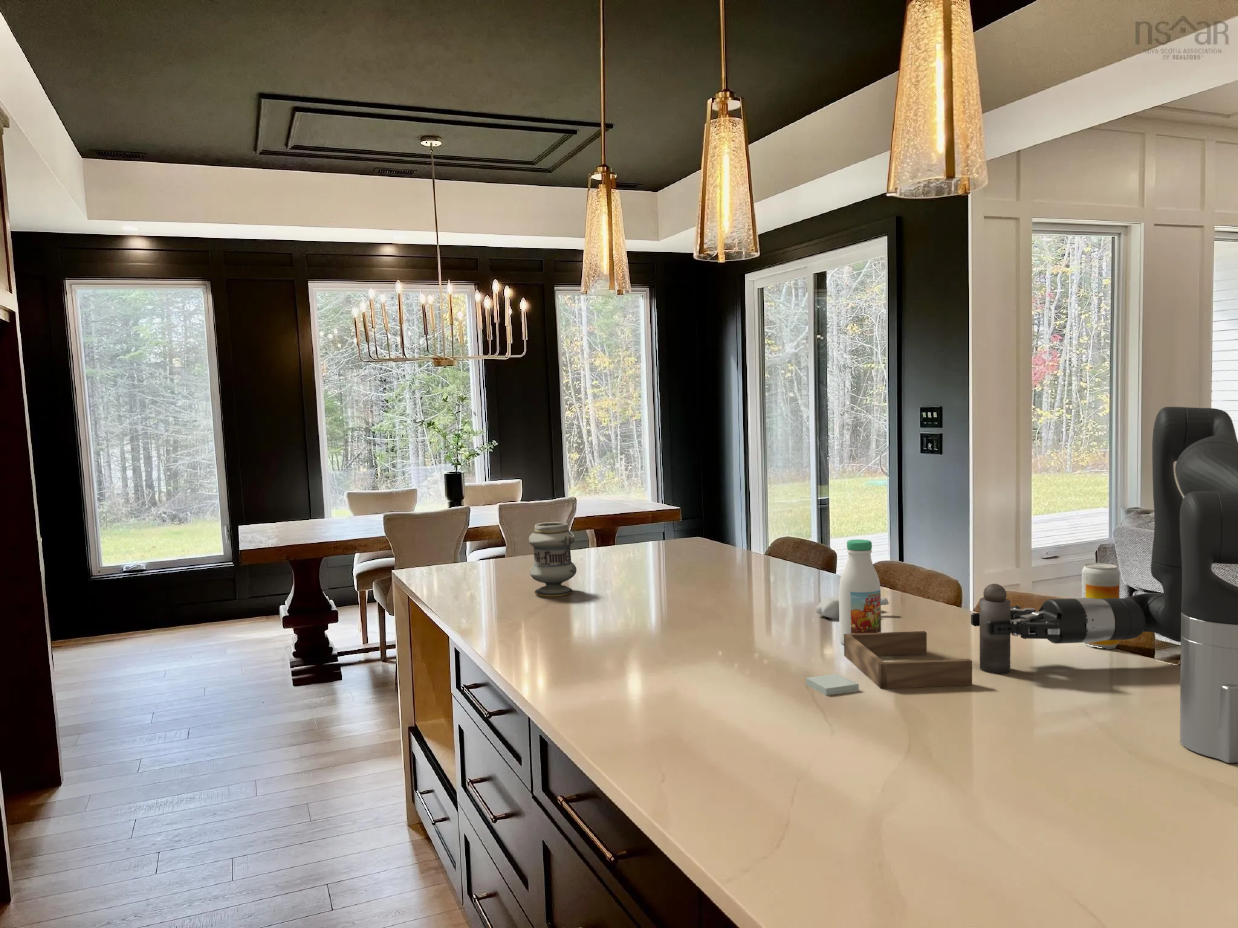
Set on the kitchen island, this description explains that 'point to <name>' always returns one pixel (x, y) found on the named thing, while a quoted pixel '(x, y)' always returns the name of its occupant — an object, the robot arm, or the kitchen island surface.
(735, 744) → the kitchen island surface
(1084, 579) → the beer can
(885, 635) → the box
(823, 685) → the ceramic tile
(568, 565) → the apothecary jar
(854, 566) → the milk bottle
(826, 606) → the bunny figurine
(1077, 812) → the kitchen island surface
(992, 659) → the pepper mill
